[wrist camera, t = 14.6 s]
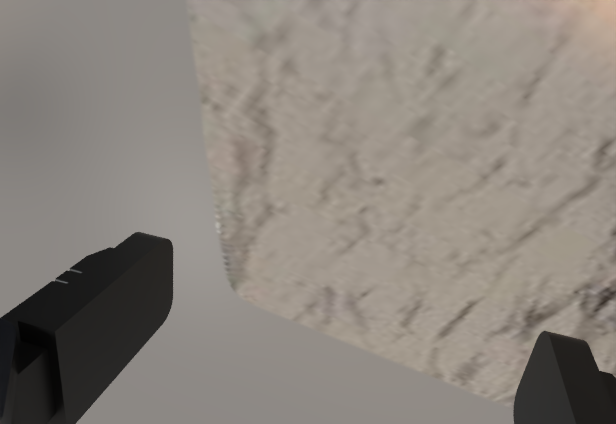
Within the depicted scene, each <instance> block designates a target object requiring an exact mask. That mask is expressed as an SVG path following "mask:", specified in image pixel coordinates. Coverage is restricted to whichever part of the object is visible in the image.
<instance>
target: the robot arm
mask: <svg viewBox="0 0 616 424" xmlns="http://www.w3.org/2000/svg"><path fill="white" fill-rule="evenodd" d="M172 300H173V246H172V242H171V241H170V240H169V239H165V238H162V237H157V236H153V235H149V234H145V233H141V232H136V233H134V234H132V235H131V236H130V237H128V238H127V239H126V240H124V241H123V242H122V243H120V244H119V245H118V246H116V247H115V248H107V249H105V250H102V251H99V252H96V253H94V254H91V255H88V256H86V257H85V258H84V259H82V260H81V261H80V262H78V263H77V264H75V265H74V266H73V267H71V268H70V271H65V272H64V273H63V274H61V275H60V276H59V277H57V278H56V280H55V282H54V281H52V282H50V283H49V284H47V285H46V286H45V287H43V288H42V289H40V290H39V291H38V292H36V293H35V294H33V295H32V296H31V297H29V298H28V299H26V300H25V301H24V302H22V303H21V304H19V305H18V306H17V307H15V308H14V309H12V310H11V311H10V312H9V313H7V314H5V315H4V316H3V317H1V318H0V424H76V422H77V421H78V420H79V419H80V418H81V417H82V416H83V415H84V413H85V412H86V411H87V410H88V409H89V408H90V407H91V405H92V404H93V403H94V402H95V401H96V400H97V398H98V397H99V396H100V395H101V394H102V393H103V391H104V390H105V389H106V388H107V387H108V386H109V384H111V382H112V381H113V380H114V379H115V378H116V377H117V376H118V374H119V373H120V372H121V371H122V370H123V369H124V368H125V366H126V365H127V364H128V363H129V362H130V361H131V360H132V358H133V357H134V356H135V355H136V354H137V353H138V352H139V350H140V349H141V348H142V347H143V346H144V345H145V344H146V342H147V341H148V340H149V339H150V338H151V337H152V336H153V334H154V333H155V332H156V331H157V330H158V329H159V328H160V326H161V325H162V324H163V323H164V321H165V320H166V318H167V316H168V314H169V312H170V309H171V305H172ZM514 424H616V378H615V377H614V376H613V375H612V374H610V373H606V372H602V371H599V369H598V367H597V364H596V362H595V360H594V357H593V355H592V352H591V350H590V347H589V345H588V343H587V342H586V341H584V340H580V339H576V338H572V337H568V336H564V335H560V334H556V333H551V332H547V331H543V332H542V333H541V334H540V335H539V337H538V339H537V341H536V343H535V346H534V348H533V351H532V353H531V356H530V358H529V361H528V364H527V366H526V369H525V371H524V374H523V376H522V379H521V381H520V384H519V386H518V389H517V392H516V396H515V402H514Z"/></svg>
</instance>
